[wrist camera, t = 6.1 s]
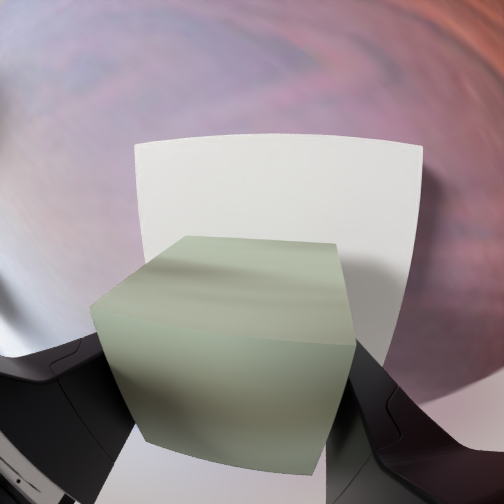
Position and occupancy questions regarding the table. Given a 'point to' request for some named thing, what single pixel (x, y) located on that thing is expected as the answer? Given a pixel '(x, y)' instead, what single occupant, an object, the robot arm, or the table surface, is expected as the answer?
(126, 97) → the table surface
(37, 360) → the robot arm
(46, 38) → the table surface
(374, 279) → the white block
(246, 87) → the table surface
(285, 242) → the sage cube
